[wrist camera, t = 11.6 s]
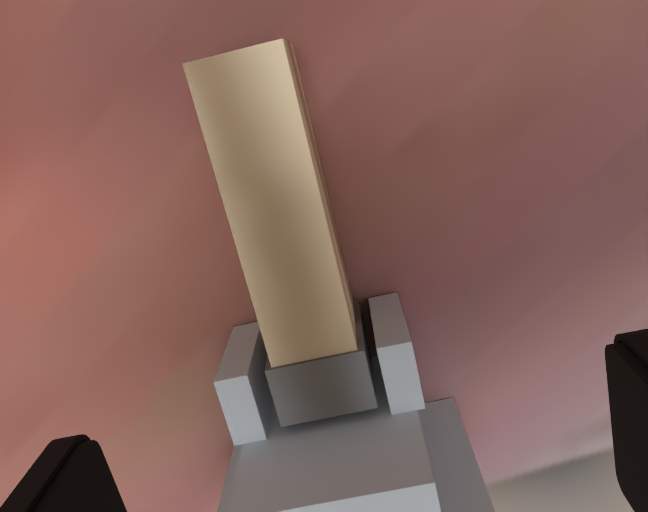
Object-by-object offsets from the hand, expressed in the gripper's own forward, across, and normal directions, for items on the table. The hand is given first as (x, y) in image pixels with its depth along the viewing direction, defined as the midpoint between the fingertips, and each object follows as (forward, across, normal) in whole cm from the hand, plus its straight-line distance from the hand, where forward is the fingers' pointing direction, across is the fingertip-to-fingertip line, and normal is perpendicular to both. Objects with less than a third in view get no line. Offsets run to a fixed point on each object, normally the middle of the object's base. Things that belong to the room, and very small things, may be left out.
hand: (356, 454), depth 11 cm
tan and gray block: (+21, +3, 0) cm, 21 cm away
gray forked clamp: (+21, +3, +9) cm, 23 cm away
